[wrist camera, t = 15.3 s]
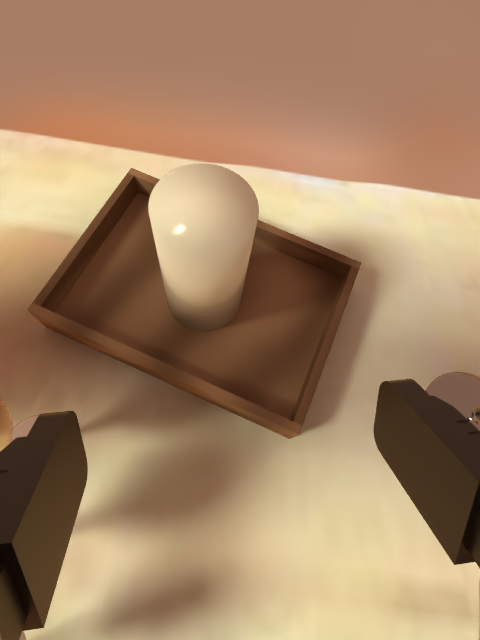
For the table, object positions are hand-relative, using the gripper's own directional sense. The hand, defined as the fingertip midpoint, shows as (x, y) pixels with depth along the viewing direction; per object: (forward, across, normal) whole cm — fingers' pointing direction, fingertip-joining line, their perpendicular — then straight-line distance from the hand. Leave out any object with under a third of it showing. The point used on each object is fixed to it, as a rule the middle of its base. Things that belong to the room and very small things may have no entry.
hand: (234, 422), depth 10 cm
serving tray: (+21, 0, +4) cm, 21 cm away
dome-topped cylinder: (+20, 0, +4) cm, 20 cm away
